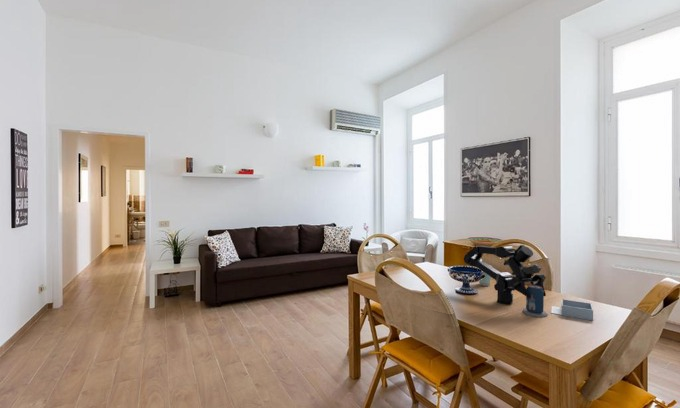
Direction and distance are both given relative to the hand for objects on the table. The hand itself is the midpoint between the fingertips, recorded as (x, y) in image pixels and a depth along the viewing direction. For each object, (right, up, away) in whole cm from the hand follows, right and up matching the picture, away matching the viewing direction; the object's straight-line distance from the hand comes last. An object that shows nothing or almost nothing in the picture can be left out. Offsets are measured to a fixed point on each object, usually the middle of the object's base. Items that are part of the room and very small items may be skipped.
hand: (537, 296), depth 151 cm
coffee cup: (-2, -7, +51) cm, 51 cm away
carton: (+18, -8, +4) cm, 20 cm away
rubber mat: (0, -8, +1) cm, 8 cm away
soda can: (-1, -8, +1) cm, 8 cm away
